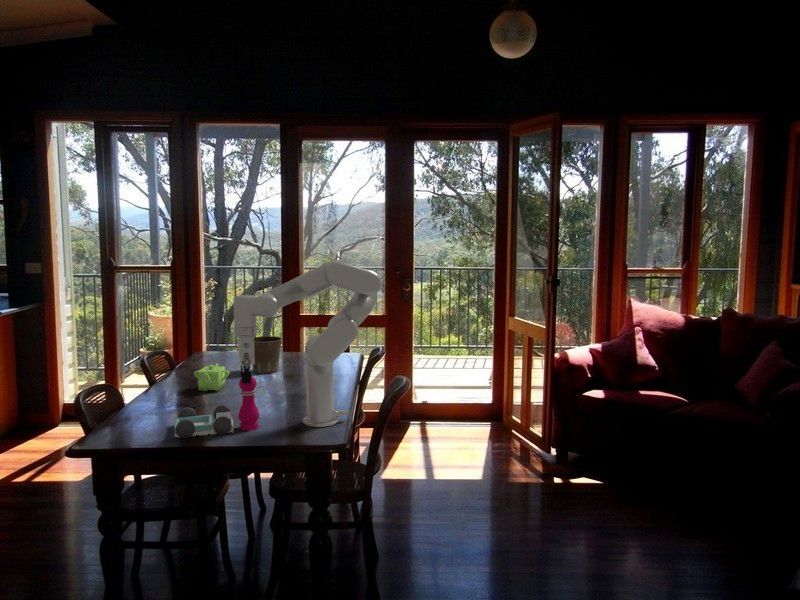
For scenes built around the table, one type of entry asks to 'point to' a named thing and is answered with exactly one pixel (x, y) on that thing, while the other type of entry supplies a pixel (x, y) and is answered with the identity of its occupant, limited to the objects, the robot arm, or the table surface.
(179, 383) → the table surface
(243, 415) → the pepper mill
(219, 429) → the chassis
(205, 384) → the teapot
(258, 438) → the table surface
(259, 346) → the plant pot
